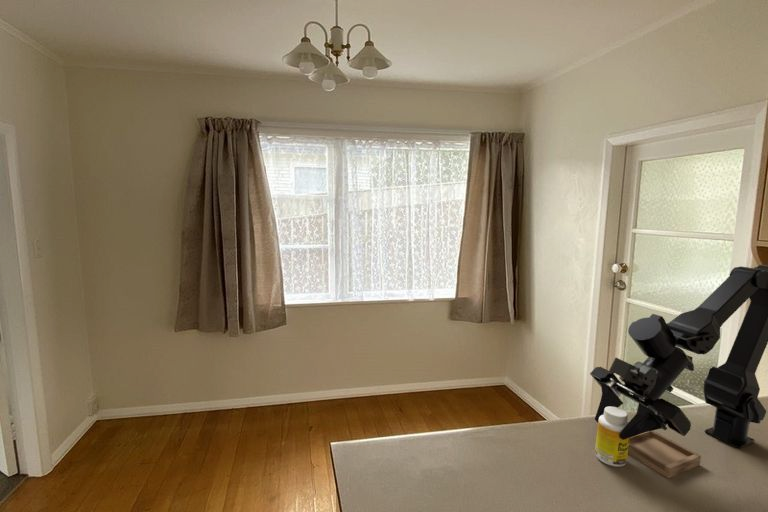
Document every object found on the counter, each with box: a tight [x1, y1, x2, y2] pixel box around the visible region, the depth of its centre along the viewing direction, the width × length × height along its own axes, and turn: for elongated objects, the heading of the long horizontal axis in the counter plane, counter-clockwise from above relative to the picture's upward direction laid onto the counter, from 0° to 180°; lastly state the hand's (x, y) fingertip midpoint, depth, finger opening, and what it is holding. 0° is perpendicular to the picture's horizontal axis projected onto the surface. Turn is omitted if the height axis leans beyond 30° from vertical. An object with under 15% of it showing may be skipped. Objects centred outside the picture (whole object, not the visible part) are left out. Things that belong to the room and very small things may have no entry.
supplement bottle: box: [594, 406, 630, 468], centre depth 77 cm, size 6×6×10 cm
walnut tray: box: [628, 430, 702, 479], centre depth 79 cm, size 10×10×2 cm
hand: (608, 429), depth 77 cm, fingers closed on supplement bottle, 5 cm apart
